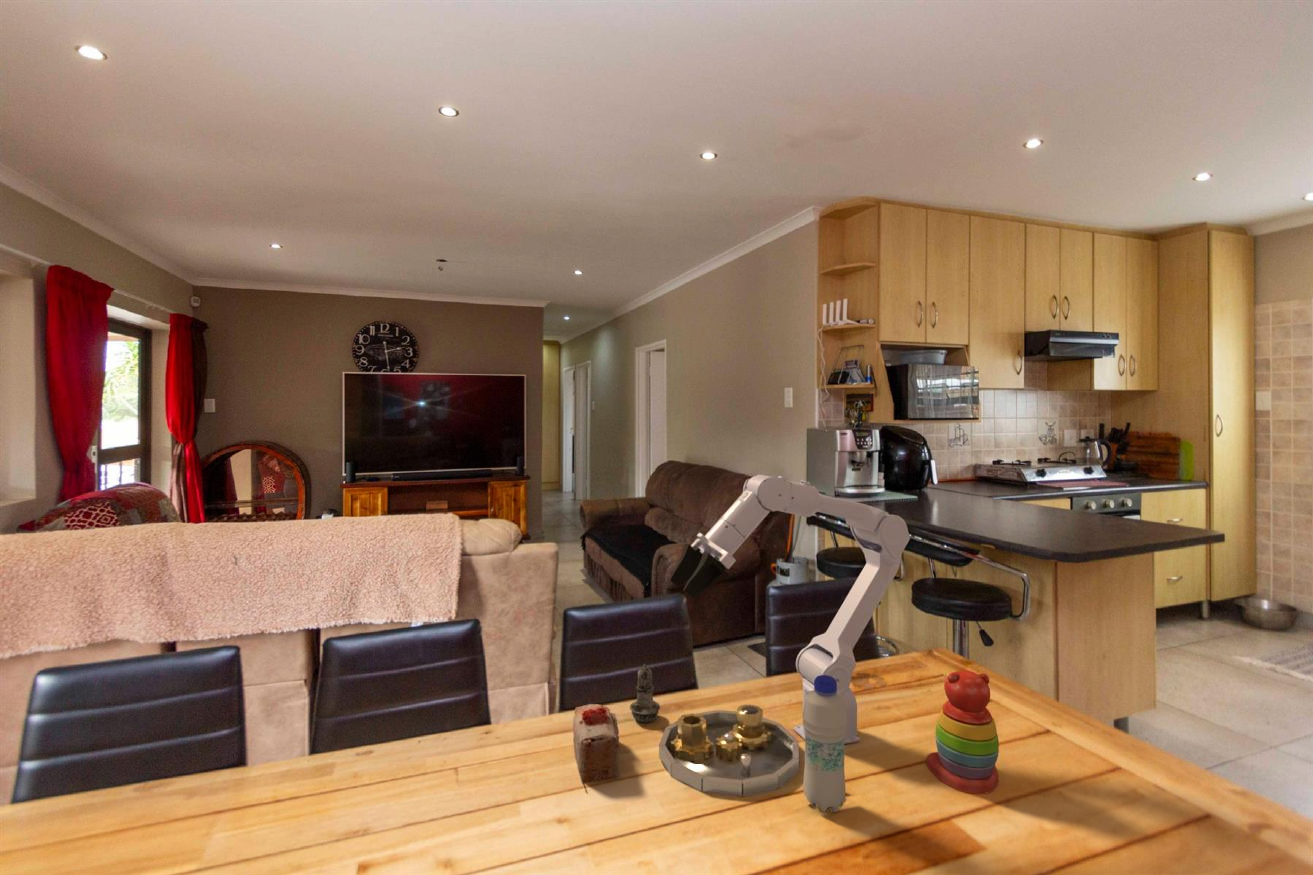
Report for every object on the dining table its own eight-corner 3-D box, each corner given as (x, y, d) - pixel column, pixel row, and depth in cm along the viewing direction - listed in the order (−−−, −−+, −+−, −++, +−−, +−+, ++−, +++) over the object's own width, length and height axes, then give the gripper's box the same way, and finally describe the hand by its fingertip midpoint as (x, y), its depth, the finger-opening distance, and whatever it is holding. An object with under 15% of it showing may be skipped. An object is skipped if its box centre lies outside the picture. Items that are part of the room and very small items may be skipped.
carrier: (758, 718, 126) (758, 685, 125) (828, 786, 103) (828, 745, 103) (642, 738, 118) (642, 703, 118) (689, 816, 95) (689, 772, 95)
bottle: (847, 795, 101) (848, 670, 100) (845, 821, 94) (846, 688, 93) (804, 787, 103) (804, 665, 102) (799, 812, 96) (800, 682, 96)
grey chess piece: (661, 717, 126) (661, 658, 126) (658, 732, 120) (658, 670, 120) (632, 716, 127) (631, 657, 126) (627, 731, 121) (627, 669, 120)
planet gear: (703, 736, 116) (703, 707, 116) (719, 757, 110) (719, 726, 109) (665, 743, 114) (665, 713, 114) (679, 764, 107) (679, 733, 107)
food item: (570, 748, 115) (569, 695, 115) (613, 743, 117) (613, 690, 117) (578, 792, 102) (578, 731, 101) (627, 785, 104) (627, 725, 103)
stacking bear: (988, 762, 110) (990, 661, 109) (1012, 798, 100) (1014, 686, 99) (922, 758, 111) (924, 657, 111) (939, 792, 101) (941, 682, 101)
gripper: (702, 509, 118) (652, 564, 115) (733, 519, 104) (678, 583, 101) (727, 534, 119) (679, 590, 116) (761, 548, 105) (707, 611, 102)
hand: (680, 588), depth 109 cm, fingers open, 7 cm apart
